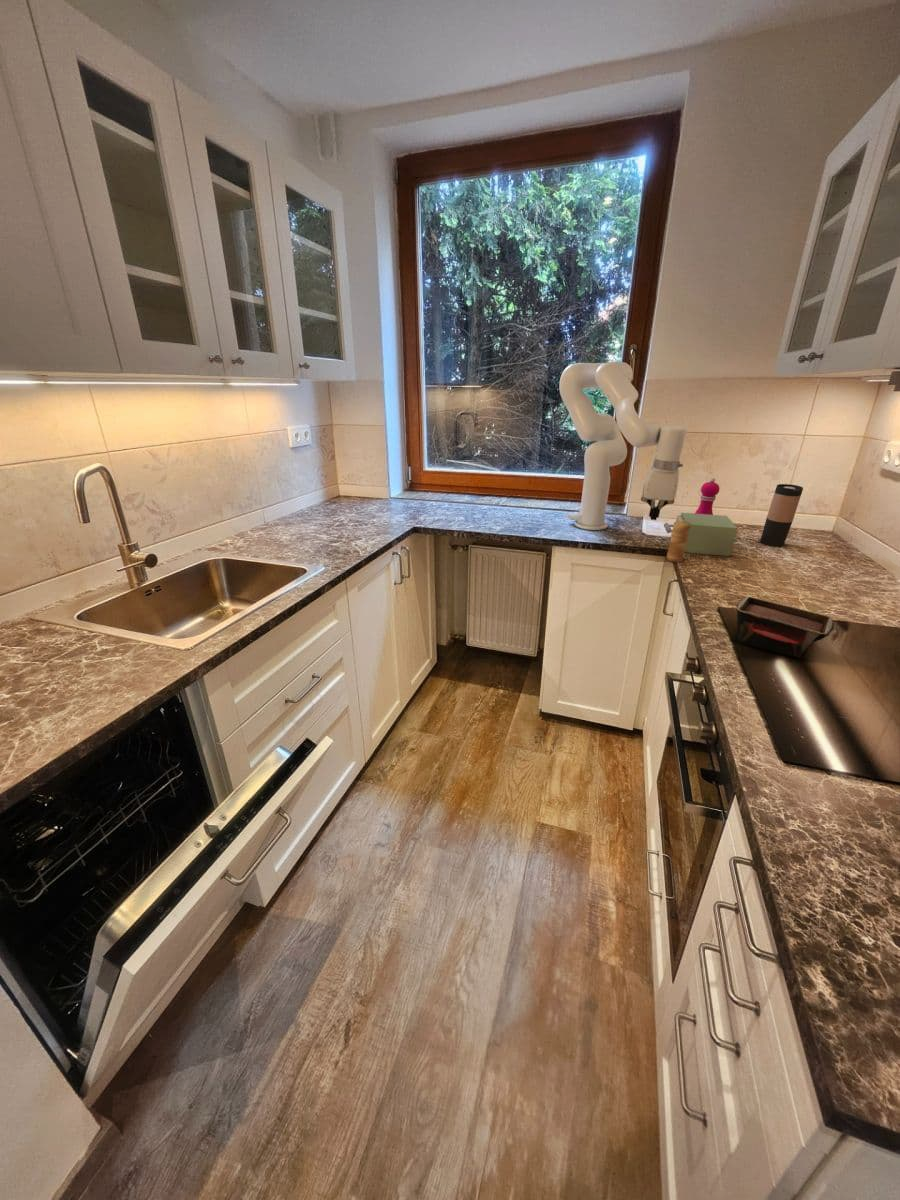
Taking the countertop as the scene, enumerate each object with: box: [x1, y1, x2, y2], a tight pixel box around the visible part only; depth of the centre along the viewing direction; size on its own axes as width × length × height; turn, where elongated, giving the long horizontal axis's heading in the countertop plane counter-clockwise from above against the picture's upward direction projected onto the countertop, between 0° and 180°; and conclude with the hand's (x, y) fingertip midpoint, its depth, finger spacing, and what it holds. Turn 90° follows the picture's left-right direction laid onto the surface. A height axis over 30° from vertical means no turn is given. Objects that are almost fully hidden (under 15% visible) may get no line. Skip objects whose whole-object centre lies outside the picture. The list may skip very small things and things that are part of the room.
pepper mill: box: [693, 477, 721, 515], centre depth 174 cm, size 7×7×20 cm
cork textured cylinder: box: [666, 520, 691, 563], centre depth 149 cm, size 5×5×12 cm
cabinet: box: [680, 512, 738, 557], centre depth 160 cm, size 15×15×10 cm
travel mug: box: [760, 483, 804, 547], centre depth 162 cm, size 8×8×20 cm
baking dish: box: [736, 596, 835, 659], centre depth 104 cm, size 14×18×10 cm
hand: (653, 518), depth 163 cm, fingers closed
